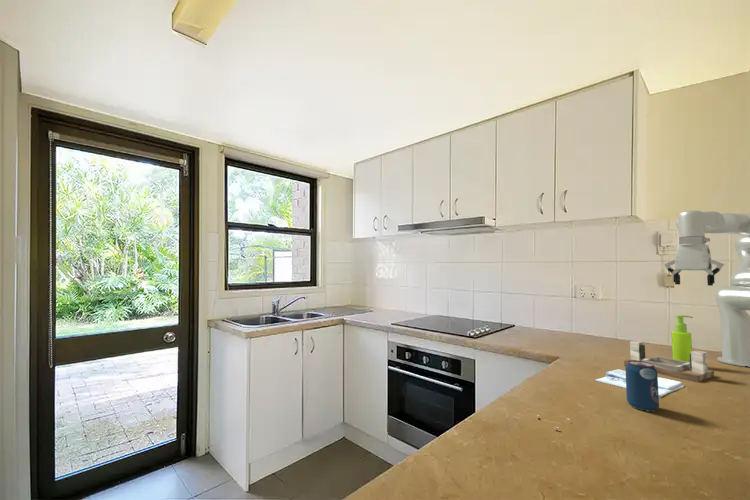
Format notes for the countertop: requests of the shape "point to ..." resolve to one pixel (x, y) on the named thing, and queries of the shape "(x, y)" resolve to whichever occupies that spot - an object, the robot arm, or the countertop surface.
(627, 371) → the soda can
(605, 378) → the folded white towel
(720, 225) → the robot arm
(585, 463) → the countertop surface
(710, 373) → the rail
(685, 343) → the soap dispenser
